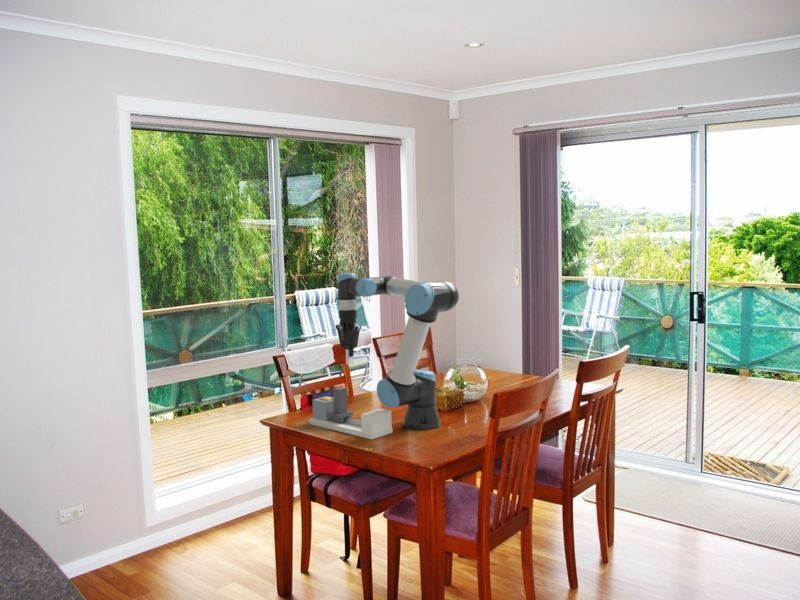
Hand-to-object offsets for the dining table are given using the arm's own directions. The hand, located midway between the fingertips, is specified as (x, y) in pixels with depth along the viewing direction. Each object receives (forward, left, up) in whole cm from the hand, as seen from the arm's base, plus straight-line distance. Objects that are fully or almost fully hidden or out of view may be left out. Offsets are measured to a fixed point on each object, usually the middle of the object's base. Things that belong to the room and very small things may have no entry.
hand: (349, 363), depth 310 cm
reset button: (+2, +12, -18) cm, 22 cm away
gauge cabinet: (+2, +12, -21) cm, 25 cm away
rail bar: (-13, +12, -21) cm, 28 cm away
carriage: (-6, +12, -21) cm, 25 cm away
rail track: (-12, +12, -24) cm, 29 cm away
